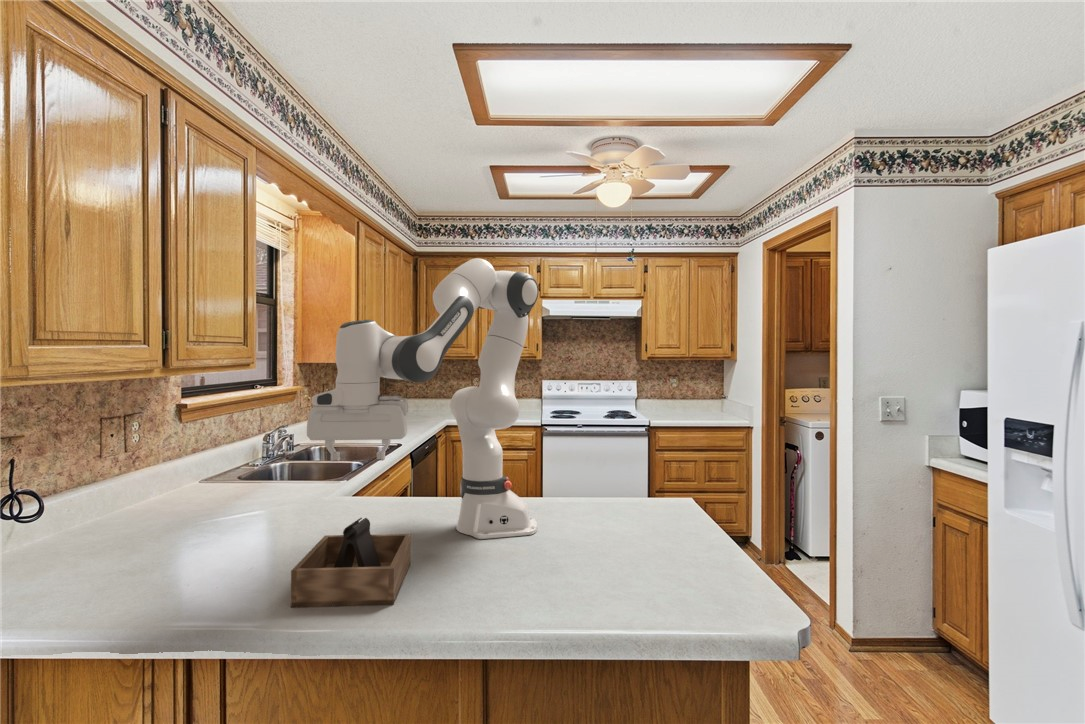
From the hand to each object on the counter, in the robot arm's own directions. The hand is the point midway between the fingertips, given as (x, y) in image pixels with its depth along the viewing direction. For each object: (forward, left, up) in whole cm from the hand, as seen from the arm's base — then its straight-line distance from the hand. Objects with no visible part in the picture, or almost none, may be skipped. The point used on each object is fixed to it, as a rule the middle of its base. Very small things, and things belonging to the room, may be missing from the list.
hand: (358, 460), depth 110 cm
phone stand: (-1, +3, -25) cm, 25 cm away
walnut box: (-1, +3, -25) cm, 25 cm away
